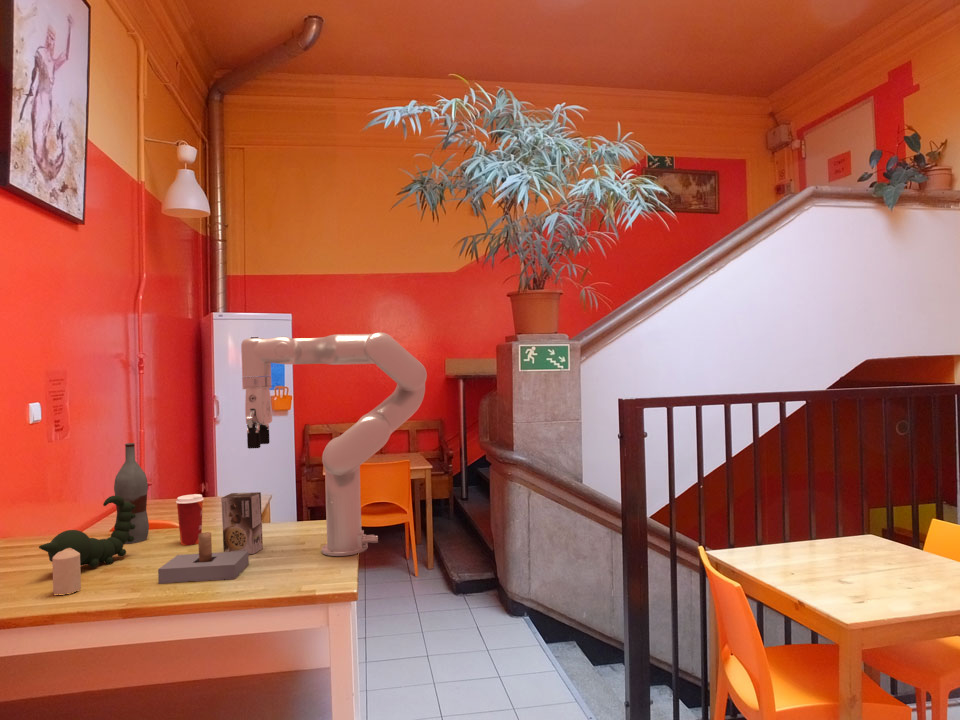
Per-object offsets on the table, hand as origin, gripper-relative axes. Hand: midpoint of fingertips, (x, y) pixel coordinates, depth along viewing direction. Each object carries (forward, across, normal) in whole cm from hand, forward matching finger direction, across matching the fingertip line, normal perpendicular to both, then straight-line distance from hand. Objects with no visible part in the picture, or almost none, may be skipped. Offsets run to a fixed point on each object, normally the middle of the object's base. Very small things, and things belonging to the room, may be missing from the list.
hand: (258, 446), depth 174 cm
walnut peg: (+30, -12, +11) cm, 34 cm away
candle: (+31, -20, +40) cm, 54 cm away
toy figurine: (+31, 0, +45) cm, 54 cm away
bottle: (+31, +27, +46) cm, 61 cm away
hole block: (+30, -12, +11) cm, 34 cm away
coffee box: (+31, +7, +7) cm, 32 cm away
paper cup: (+31, +20, +26) cm, 45 cm away
